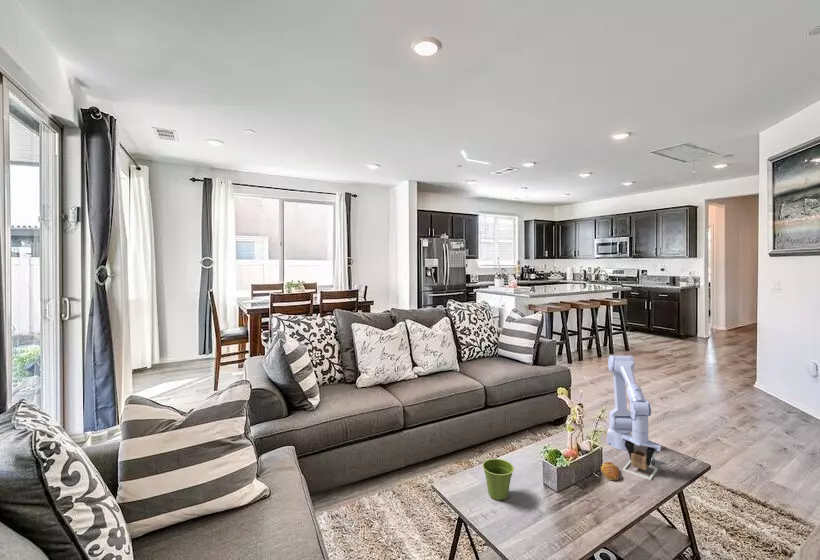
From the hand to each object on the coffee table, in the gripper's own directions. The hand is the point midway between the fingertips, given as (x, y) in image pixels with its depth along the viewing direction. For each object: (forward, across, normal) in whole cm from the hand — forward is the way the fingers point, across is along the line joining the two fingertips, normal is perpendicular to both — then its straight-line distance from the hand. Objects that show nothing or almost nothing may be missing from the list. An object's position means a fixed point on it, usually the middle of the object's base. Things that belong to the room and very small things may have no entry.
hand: (640, 462), depth 158 cm
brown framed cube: (+1, 0, 0) cm, 1 cm away
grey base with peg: (+4, +2, +10) cm, 12 cm away
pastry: (+5, -8, -10) cm, 13 cm away
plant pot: (+5, -34, -54) cm, 64 cm away
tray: (+4, 0, 0) cm, 4 cm away
